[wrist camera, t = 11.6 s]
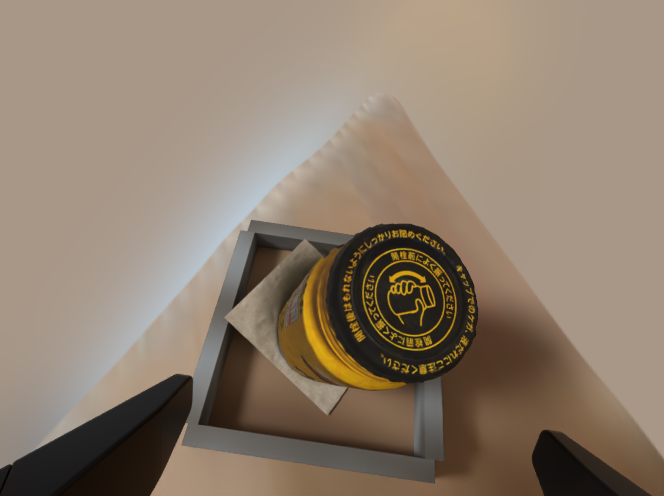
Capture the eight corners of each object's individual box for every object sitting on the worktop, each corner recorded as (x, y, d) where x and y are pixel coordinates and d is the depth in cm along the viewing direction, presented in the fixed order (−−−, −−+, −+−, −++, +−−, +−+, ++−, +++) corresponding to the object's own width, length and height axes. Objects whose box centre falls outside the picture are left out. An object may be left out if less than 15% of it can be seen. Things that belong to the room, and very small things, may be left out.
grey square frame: (425, 478, 19) (444, 485, 17) (189, 442, 19) (171, 443, 17) (423, 266, 26) (436, 248, 24) (250, 240, 26) (244, 218, 24)
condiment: (326, 415, 20) (439, 473, 9) (224, 317, 20) (208, 256, 9) (393, 323, 23) (538, 281, 12) (303, 240, 23) (363, 124, 12)
